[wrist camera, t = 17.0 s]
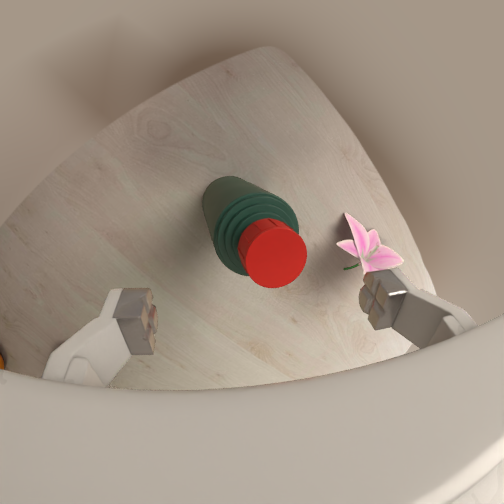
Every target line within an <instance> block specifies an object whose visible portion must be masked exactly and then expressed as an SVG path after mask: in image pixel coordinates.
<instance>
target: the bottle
mask: <svg viewBox="0 0 504 504" xmlns="http://www.w3.org/2000/svg"><path fill="white" fill-rule="evenodd" d="M202 207H203V211H204V215H205V218H206V221H207V225H208V228H209V231H210V234H211V238H212V241H213V244H214V247H215V250H216V253H217V255H218V257H219V259H220V260H221V261H222V263H223V264H224V265H225V266H226V267H227V268H229V269H230V270H232V271H233V272H235V273H238V274H240V275H244V276H249V274H248V273H246V271H245V269H244V267H243V265H242V263H241V259H240V257H239V253H238V249H237V247H238V244H239V240H240V237H241V235H242V233H243V232H244V230H245V229H246V228H247V227H248V226H249V225H251V224H252V223H253V222H256V221H258V220H261V219H267V218H270V219H276V220H279V221H281V222H282V221H283V222H284V223H285V224H287V225H288V226H289V227H291V228H292V229H293V231H295V232H296V233H297V234H298V235H299V227H298V221H297V218H296V215H295V213H294V211H293V210H292V208H291V207H290V206H289V205H288V204H287V203H286V202H285V201H284V200H283V199H281V198H279V197H278V196H276V195H274V194H272V193H270V192H268V191H266V190H264V189H262V188H260V187H257V186H255V185H253V184H251V183H249V182H247V181H245V180H243V179H241V178H238V177H234V176H226V177H222V178H219V179H217V180H215V181H214V182H212V183H211V184H210V185H209V186H208V188H207V189H206V191H205V193H204V196H203V200H202Z"/></svg>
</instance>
